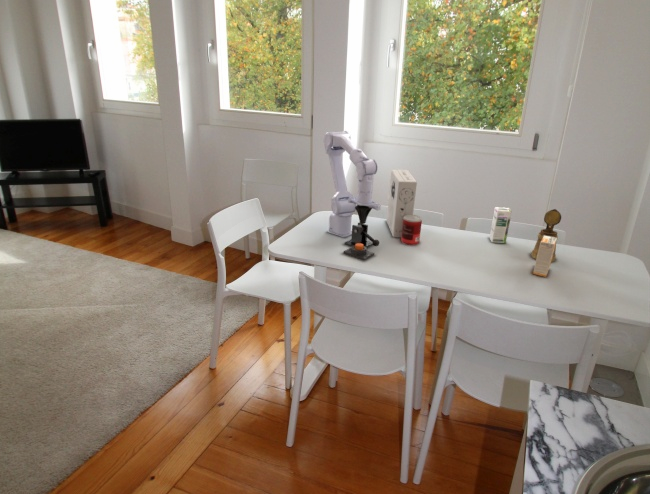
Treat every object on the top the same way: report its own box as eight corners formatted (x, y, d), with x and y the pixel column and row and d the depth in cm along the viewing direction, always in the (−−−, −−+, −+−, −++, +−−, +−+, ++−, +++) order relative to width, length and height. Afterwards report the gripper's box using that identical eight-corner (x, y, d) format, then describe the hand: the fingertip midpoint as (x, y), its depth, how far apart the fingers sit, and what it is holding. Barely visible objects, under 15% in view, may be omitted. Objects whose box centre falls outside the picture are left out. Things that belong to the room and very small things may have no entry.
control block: (343, 253, 186) (343, 246, 185) (353, 248, 191) (354, 242, 190) (364, 261, 180) (364, 253, 179) (374, 255, 185) (374, 248, 184)
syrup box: (491, 242, 201) (497, 210, 195) (489, 237, 206) (495, 206, 200) (505, 243, 200) (512, 211, 194) (502, 238, 205) (509, 207, 200)
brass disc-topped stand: (557, 252, 193) (567, 210, 185) (554, 264, 182) (565, 220, 175) (533, 247, 197) (543, 206, 189) (529, 258, 186) (539, 215, 179)
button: (353, 248, 184) (353, 244, 184) (358, 246, 187) (358, 242, 186) (360, 251, 183) (360, 246, 182) (364, 248, 185) (365, 244, 184)
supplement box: (546, 277, 171) (555, 244, 165) (532, 274, 173) (540, 241, 168) (549, 269, 177) (557, 237, 172) (535, 266, 179) (543, 234, 174)
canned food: (418, 239, 203) (421, 214, 198) (420, 246, 196) (423, 221, 191) (400, 238, 203) (402, 214, 199) (401, 244, 196) (404, 220, 192)
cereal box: (410, 238, 204) (417, 181, 194) (392, 237, 204) (398, 181, 194) (402, 221, 223) (407, 169, 213) (386, 220, 223) (391, 169, 213)
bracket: (373, 245, 195) (374, 225, 192) (362, 250, 190) (363, 230, 186) (355, 239, 201) (356, 220, 197) (344, 244, 195) (345, 224, 191)
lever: (378, 246, 190) (381, 241, 189) (374, 248, 188) (377, 243, 187) (357, 228, 195) (360, 223, 193) (354, 230, 193) (356, 225, 191)
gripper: (344, 188, 186) (342, 221, 192) (374, 196, 178) (371, 230, 183) (354, 185, 191) (352, 217, 197) (384, 192, 183) (381, 225, 188)
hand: (362, 223), depth 190 cm, fingers closed
